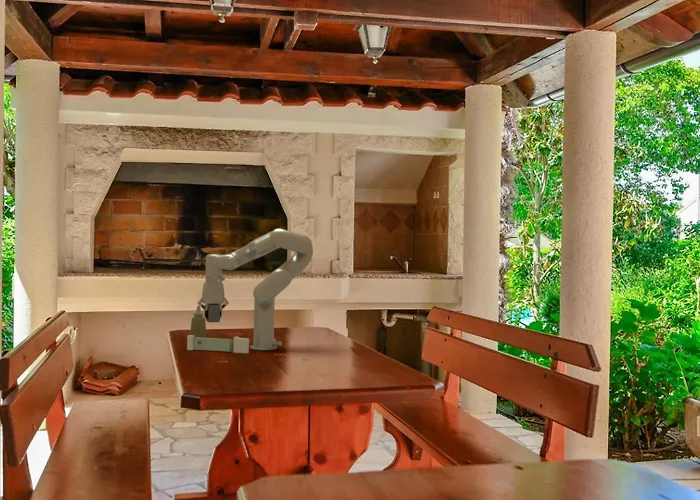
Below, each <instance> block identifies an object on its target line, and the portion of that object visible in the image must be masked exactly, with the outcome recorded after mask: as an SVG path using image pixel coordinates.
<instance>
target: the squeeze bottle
mask: <svg viewBox="0 0 700 500" xmlns="http://www.w3.org/2000/svg"><path fill="white" fill-rule="evenodd" d="M201 309H202V308H201V306H200V305H197V306H196V310H195V312H193V317H191V323H190V324H191V325H190V332H189V335H194V336H195V337H199V338H207V337H206V336H207V327H206V326H207V324H206V317H205V316H204V312H202V310H201ZM194 343H195V338H194Z"/></svg>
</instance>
